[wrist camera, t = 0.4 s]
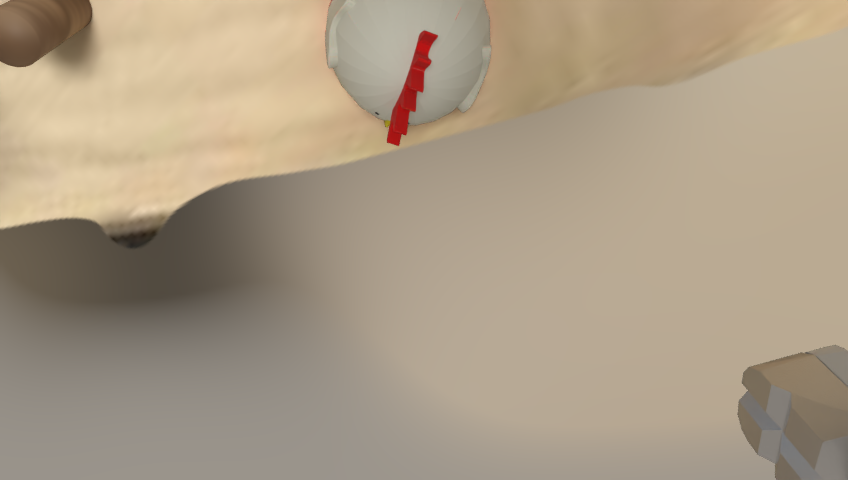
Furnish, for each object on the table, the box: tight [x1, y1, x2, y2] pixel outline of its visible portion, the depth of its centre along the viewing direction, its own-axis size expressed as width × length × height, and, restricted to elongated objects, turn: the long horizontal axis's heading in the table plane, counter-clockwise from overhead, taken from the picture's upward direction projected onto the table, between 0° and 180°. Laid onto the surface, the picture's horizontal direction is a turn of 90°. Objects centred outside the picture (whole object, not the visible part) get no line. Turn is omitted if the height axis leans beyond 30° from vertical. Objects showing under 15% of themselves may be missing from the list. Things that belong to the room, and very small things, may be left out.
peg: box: [0, 0, 92, 67], centre depth 45 cm, size 4×4×9 cm
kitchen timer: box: [325, 0, 491, 146], centre depth 46 cm, size 14×14×15 cm
